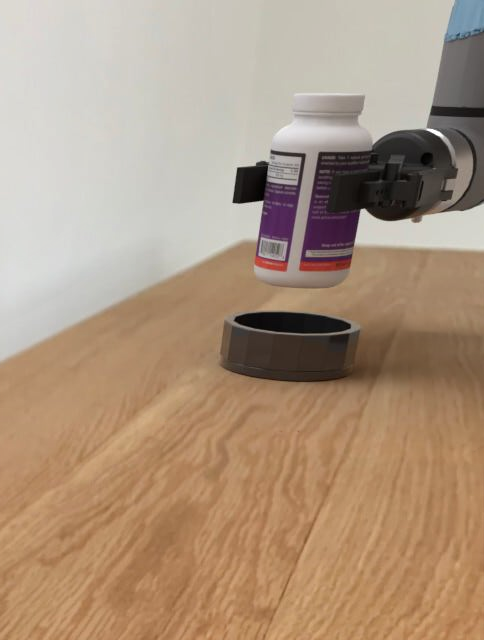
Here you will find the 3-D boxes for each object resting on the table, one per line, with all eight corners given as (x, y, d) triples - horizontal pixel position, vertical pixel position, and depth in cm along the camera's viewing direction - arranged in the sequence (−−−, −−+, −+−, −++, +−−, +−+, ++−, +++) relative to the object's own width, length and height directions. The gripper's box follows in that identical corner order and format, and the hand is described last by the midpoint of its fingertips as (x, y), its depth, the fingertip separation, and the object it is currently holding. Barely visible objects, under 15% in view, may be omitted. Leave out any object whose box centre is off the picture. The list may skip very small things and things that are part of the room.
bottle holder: (351, 357, 104) (360, 315, 102) (351, 385, 94) (361, 339, 92) (225, 348, 107) (231, 306, 105) (213, 375, 97) (219, 329, 95)
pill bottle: (352, 280, 99) (388, 93, 91) (340, 294, 93) (377, 95, 85) (260, 273, 102) (288, 91, 94) (242, 286, 95) (271, 93, 88)
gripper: (514, 229, 99) (395, 253, 86) (305, 208, 112) (173, 227, 99) (539, 134, 95) (418, 144, 82) (319, 124, 108) (184, 131, 95)
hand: (284, 189), depth 90 cm, fingers closed on pill bottle, 8 cm apart
